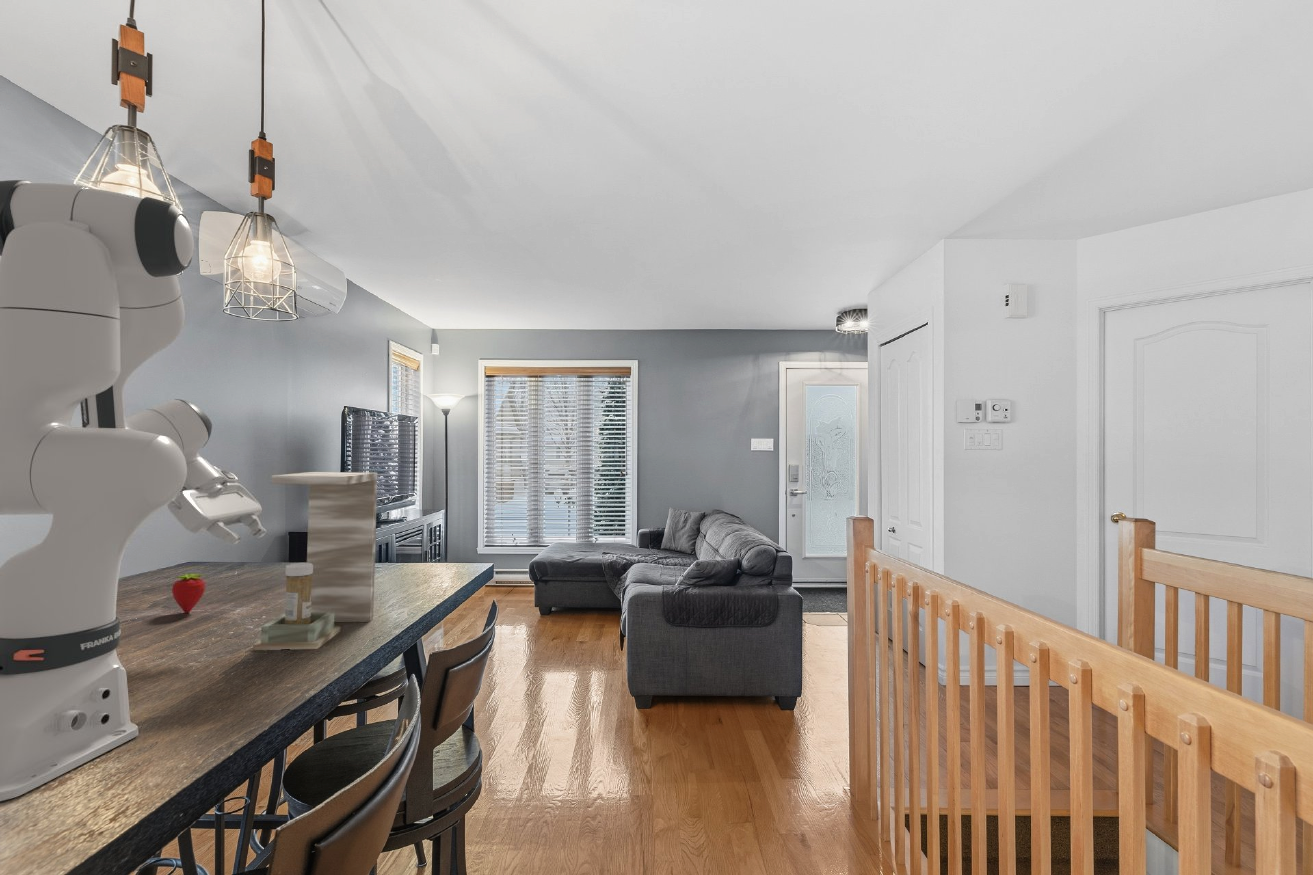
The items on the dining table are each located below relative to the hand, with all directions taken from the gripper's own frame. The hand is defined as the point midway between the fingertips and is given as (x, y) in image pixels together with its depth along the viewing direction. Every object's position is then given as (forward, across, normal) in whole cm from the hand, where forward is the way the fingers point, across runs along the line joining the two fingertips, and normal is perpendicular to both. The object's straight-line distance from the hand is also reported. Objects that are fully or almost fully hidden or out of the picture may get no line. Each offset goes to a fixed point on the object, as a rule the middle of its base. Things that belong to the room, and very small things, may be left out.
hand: (249, 538), depth 117 cm
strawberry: (-2, +22, +30) cm, 37 cm away
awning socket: (+21, +5, +6) cm, 23 cm away
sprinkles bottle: (+19, 0, +7) cm, 21 cm away
